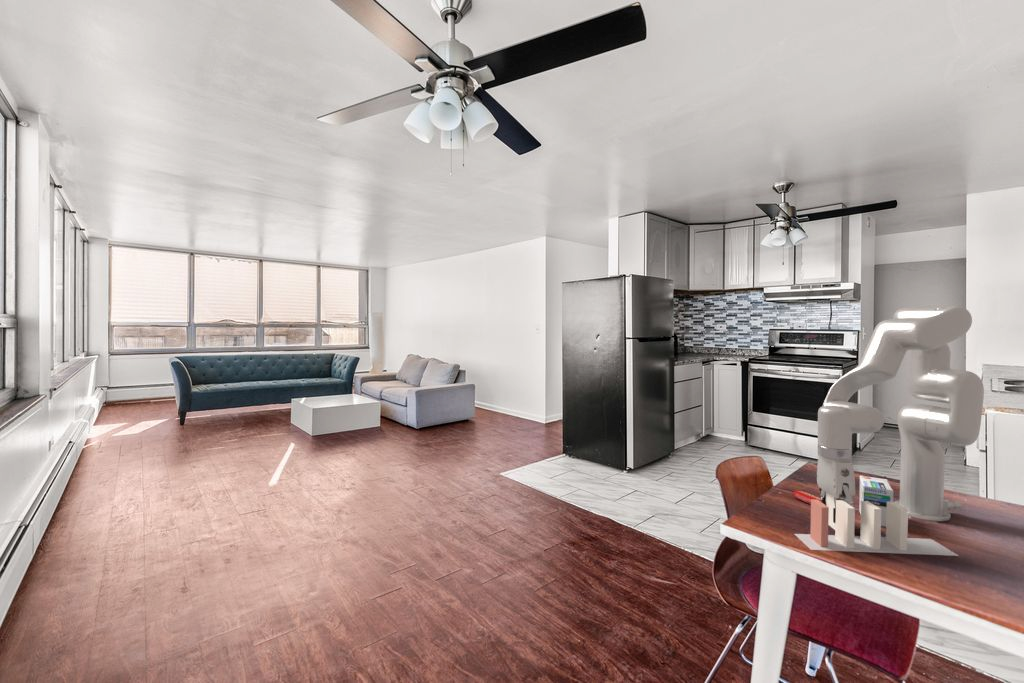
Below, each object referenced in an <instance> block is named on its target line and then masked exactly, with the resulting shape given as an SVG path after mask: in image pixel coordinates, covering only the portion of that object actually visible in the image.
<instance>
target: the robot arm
mask: <svg viewBox="0 0 1024 683" xmlns="http://www.w3.org/2000/svg"><path fill="white" fill-rule="evenodd" d="M972 324H973V316H972V314H971V313H970V311H969V310H968V309H967V308H965V307H963V306H960V305H920V306H917V305H916V306H907V307H902V308H899V309H897V310H896V311H894V314H893V317H892V318H889V319H884V320H881V321H880V322H878V324H876V326H875V327H874V329H873V332H872V334H871V336H870V338H869V341H868V343H867V345H866V347H865V349H864V352H863V354H862V356H861V358H860V361H859V363H858V365H857V366H856V367H854V368H853V369H851V370H849V371H848V372H846V373H845V374H843V376H841V377H840V378H839V379H837V380H836V381H835V382H834V383H833V384H832V385H831V387H830V388H829V389H828V391H827V394H826V397H825V399H824V400H823V403H822V406H820V407H819V408H818V411H817V457H818V458H817V469H816V484H817V486H818V488H819V492H820V497H819V498H821V502H822V503H823V504H825V505H826V492H827V493H828V494H830V495H831V496H833V497H834V504H835V508H833V522H834V523H835V522H836V500H838V499H840V500H843V501H844V502H846V503H847V504H849V505H851V506H852V505H854V501H853V499H855V498H856V480H855V479H856V478H855V471H854V466H853V461H852V460H853V458H852V457H853V456H852V455H853V448H852V447H853V446H852V445H853V444H852V443H853V434H863V435H864V434H867V435H868V434H874V433H876V432H878V431H880V430H881V429H882V428H883V426H884V424H885V417H884V414H883V413H882V412H881V411H880V410H879V409H878V408H876V407H874V406H871V405H866V404H861V403H855V402H850V401H849V400H850V399H851V397H852V396H853V395H854V394H855V393H857V392H858V391H860V390H862V389H864V388H866V387H870V386H873V385H877V384H880V383H881V384H882V383H884V382H888V381H890V380H891V381H892V380H893V379H895V378H896V376H897V374H898V372H899V369H900V367H901V364H902V362H903V359H904V357H905V356H906V353H907V352H908V351H910V361H909V369H908V370H909V371H908V379H907V380H908V381H907V387H908V388H907V389H908V393H909V394H910V395H911V396H912V397H914V398H915V399H920V400H924V401H929V402H936V403H941V404H942V403H944V404H950V408H947V407H941V406H937V405H936V406H934V405H930V404H923V403H910V404H906V405H904V406H903V407H901V408H900V410H899V411H898V413H897V426H898V431H899V436H900V469H899V471H900V474H899V476H900V478H899V500H895V501H894V502H895V503H897V504H898V505H900V506H902V507H904V508H906V509H907V510H908V517H909V516H910V517H912V518H916V519H920V520H925V521H926V520H927V521H932V522H947V521H949V520H950V519H951V513H950V512H949V511H950V510H951V509H952V510H962V509H963V505H962V503H961V502H959V501H950V500H949V499H944V497H945V496H944V495H945V493H944V492H945V469H946V468H945V465H946V457H945V452H944V450H943V448H942V446H941V444H940V443H945V444H949V445H954V446H960V447H968V446H971V445H973V444H974V443H975V442H976V441H977V439H978V437H979V435H980V432H981V425H982V424H981V423H982V416H983V414H982V413H983V406H984V398H985V387H984V384H983V381H982V379H981V378H980V376H979V375H978V374H977V373H975V372H972V371H968V370H966V369H965V370H963V369H955V368H954V369H952V368H951V353H952V352H951V348H950V347H949V343H951V342H954V341H956V340H958V339H959V338H962V337H963V336H964V335H966V333H968V331H969V330H970V328H972ZM839 495H843V497H839Z"/></svg>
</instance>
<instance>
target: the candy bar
mask: <svg viewBox="0 0 1024 683" xmlns="http://www.w3.org/2000/svg"><path fill="white" fill-rule="evenodd" d="M792 495H793V497H794V498H796V499H797V500H800V501H802V502H804V503H806V504H809V505H811V499H813V500H819V501H820V502H821V497H818V496H816V495H813V494H811V493H808V492H805V491H803V490H802V491H801V490H795V491H794V492H793V493H792Z"/></svg>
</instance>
